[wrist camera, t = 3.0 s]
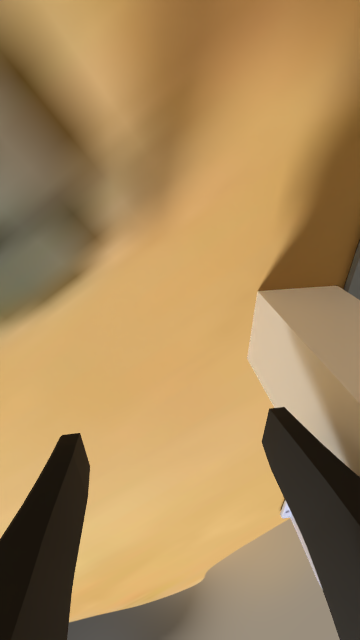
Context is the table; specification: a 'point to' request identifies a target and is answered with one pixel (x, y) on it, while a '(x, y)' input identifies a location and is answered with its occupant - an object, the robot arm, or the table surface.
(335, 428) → the tall block
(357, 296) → the slate mat
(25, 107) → the table surface
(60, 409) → the table surface
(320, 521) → the robot arm
